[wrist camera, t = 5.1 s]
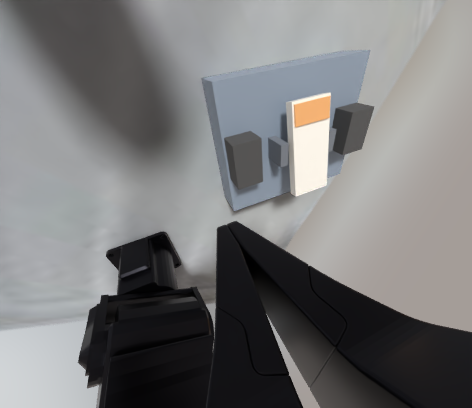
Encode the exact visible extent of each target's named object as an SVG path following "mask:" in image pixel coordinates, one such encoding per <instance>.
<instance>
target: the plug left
mask: <svg viewBox="0 0 472 408" xmlns="http://www.w3.org/2000/svg"><path fill="white" fill-rule="evenodd" d="M224 142H225V148H226V154H227V160H228V166H229V172H230V179H231V180H232V182H233V183H234V184H235V186H236V187H237V188H238V190H240V189H243V188H246V187H249V186H252V185H255V184H258V183H261V182H263V163H262V138H261V137H259V136H258V135H256V134H255V133H253V132H252V131H248V132H244V133H240V134H237V135H233V136H229V137H225V138H224Z"/></svg>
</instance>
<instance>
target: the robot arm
mask: <svg viewBox="0 0 472 408" xmlns="http://www.w3.org/2000/svg"><path fill="white" fill-rule="evenodd" d="M161 236H163V237H161ZM106 257H107V258H108V259H109V260H110V262H111V263H112V264H113V265H114V266H115V267H116V268H117V269H118V270H119V274H118V289H117V295H112V296H108V295H101V301H100V304H97V306H95V307H94V308H92V309H90V311H89V316H88V321H87V326H86V331H85V335H84V339H83V343H82V347H81V351H80V355H79V360H78V363H79V364H80V365H81V366H82V367H83V368H84V369H85V370H86V374H85V376H88V375H89V378H88V385H87V388H90V387H94V386H97V385H99V390H98V398H97V407H96V408H303V406H302V404H301V401H300V399H299V397H298V395H297V393H296V390H295V387H294V385H293V382H292V380H291V377H290V376H289V372H288V369H287V367H286V364H285V362H284V359H283V356H282V354H281V351H280V349H279V346H278V343H277V341H276V338H275V336H274V333H273V330H272V328H271V325H270V323H269V320H268V317H269V319H270V320H271V322H272V324H273V326H274V327H275V329H276V331H277V333H278V334H279V336H280V338H281V340H282V341H283V343H284V345H285V347H286V348H287V350H288V352H289V353H290V355H291V357H292V359H293V360H294V362H295V364H296V365H297V367H298V369H299V371H300V373H301V374H302V376H303V378H304V380H305V381H306V383H307V385H308V387H310V390H311V392H312V394H313V395H314V397H315V399H316V401H317V402H318V404H319V406H320V408H472V332H468V331H463V330H458V329H453V328H449V327H443V326H439V325H435V324H430V323H427V322H423V321H420V320H417V319H414V318H412V317H409V316H407V315H404V314H402V313H400V312H398V311H396V310H394V309H392V308H389V307H388V306H385V305H383V304H381V303H379V302H377V301H375V300H373V299H371V298H369V297H367V296H365V295H363V294H361V293H359V292H357V291H355V290H353V289H351V288H349V287H347V286H345V285H343V284H341V283H339V282H337V281H335V280H334V279H332V278H330V277H328V276H327V275H325V274H323V273H321V272H320V271H318V270H316V269H315V268H313V267H312V266H309V267H308V264H306V263H305V262H303V261H301V260H300V259H298V258H296V257H295V256H293V255H292V254H290V253H288V252H286V251H285V250H283V249H282V248H280V247H278V246H277V245H275V244H274V243H272V242H270V241H269V240H267V239H265V238H264V237H262V236H260V235H259V234H257V233H255V232H254V231H252V230H250V229H249V228H247V227H245V226H244V225H242V224H241V223H239V222H237V221H234V222H231V223H229V224H227V225H223V226H220V227H218V228H217V260H216V313H215V338H214V327H213V321H212V318H211V315H210V312H209V311H208V309H207V307H206V305H205V303H204V301H203V299H202V297H201V295H200V293H199V291H198V289H197V287H191V288H186V289H178V287H177V281H176V275H175V269H174V268H177V267H179V266H180V265H181V262H180V259H179V257H178V255H177V253H176V251H175V249H174V248H173V246H172V244H171V242H170V240H169V238H168V236H167V234H166V233H165V232H159V233H156V234H154V235H151V236H148V237H145V238H142V239H139V240H136V241H134V242H131V243H128V244H125V245H122V246H119V247H116V248H114V249H111V250H108V251H107V253H106ZM266 314H267V315H268V317H267V315H266ZM213 343H214V349H213Z"/></svg>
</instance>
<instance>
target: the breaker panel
mask: <svg viewBox="0 0 472 408" xmlns="http://www.w3.org/2000/svg"><path fill="white" fill-rule="evenodd" d="M369 54H370V50H357V51H339V52H334V53H329V54H324V55H319V56H314V57H308V58H303V59H298V60H293V61H288V62H282V63H277V64H272V65H267V66H262V67H257V68H251V69H246V70H241V71H236V72H231V73H225V74H220V75H215V76H210V77H205V78H202V83H203V88H204V93H205V98H206V103H207V108H208V113H209V118H210V123H211V128H212V134H213V139H214V144H215V149H216V154H217V159H218V164H219V169H220V174H221V179H222V184H223V189H224V194H225V197H226V199H227V201H228V202H229V204H230V206H231V207H232V209H233V210H234V211H236V210H239V209H242V208H245V207H248V206H250V205H253V204H256V203H259V202H262V201H264V200H267V199H270V198H273V197H276V196H278V195H281V194H284V193H287V192H290V191H291V187H290V169H289V143H288V132H287V114H286V102H289V101H293V100H297V99H302V98H306V97H310V96H314V95H318V94H322V93H331V100H330V122H329V144H328V166H327V178H329V177H332V176H335V175H337V174H340V171H341V167H342V163H343V159H344V155H341V154H339V153H337V152H335V151H333V145H334V140H335V135H336V130H337V129H334V128H332V125H333V119H334V114H335V109H336V108H338V107H342V106H345V105H349V104H353V103H357V102H358V98H359V94H360V90H361V86H362V82H363V78H364V74H365V70H366V66H367V62H368V58H369ZM248 131H252V132H253V133H255V134H256V135H258V136H259V137H261V138H262V163H263V182H261V183H258V184H255V185H252V186H249V187H246V188H243V189H240V190H238V188H237V187H236V186H235V184H234V183H233V182H232V180H231V179H230V172H229V166H228V160H227V154H226V148H225V142H224V138H225V137H229V136H233V135H237V134H240V133H244V132H248Z"/></svg>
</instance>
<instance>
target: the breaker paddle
mask: <svg viewBox="0 0 472 408" xmlns="http://www.w3.org/2000/svg"><path fill="white" fill-rule="evenodd" d="M330 100H331V93H322V94H318V95H314V96H310V97H306V98H302V99H297V100H293V101H289V102H286V114H287V132H288V143H289V169H290V187H291V194H292V195H294V196H299V195H302V194H304V193H307V192H310V191H313V190H315V189H318V188H321V187H323V186H326V185H327V166H328V144H329V122H330Z"/></svg>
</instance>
